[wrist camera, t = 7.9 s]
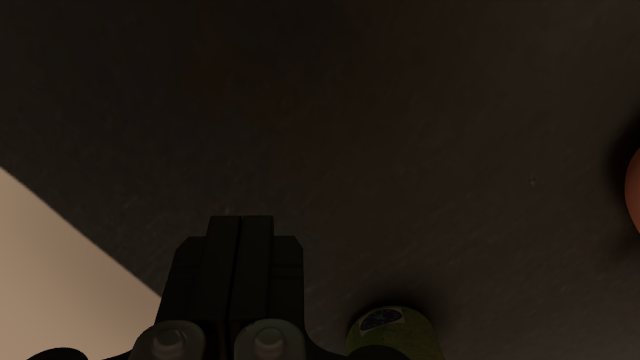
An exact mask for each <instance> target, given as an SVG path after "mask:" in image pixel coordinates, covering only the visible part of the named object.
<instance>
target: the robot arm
mask: <svg viewBox="0 0 640 360" xmlns="http://www.w3.org/2000/svg"><path fill="white" fill-rule="evenodd" d="M27 360H88V358H87V357H86V356H85V355H84V354H83V353H82V352H80V351H79V350H76V349H72V348H54V349H49V350H46V351H43V352H40V353H38V354H36V355H34V356H32V357H30V358H29V359H27ZM104 360H411V359H410V358H408V357H407V356H406V355H405V354H403V353H402V352H400V351H398V350H396V349H394V348H392V347H389V346H385V345H367V346H363V347H360V348H358V349H356V350H354V351H353V352H351V353H350V354H349V355H348V356H347V357H346V356H342V355H339V354H335V353H332V352H328V351H326V350H324V349H322V348H320V347H319V346H317V345H316V344H315V343H314V342H313V341H312V340H311V339H310V338H309V336H308V335H307V333H306V330H305V325H304V274H303V248H302V247H301V245H300V244H299V242H298V241H297V239H296V238H295V236H274V221H273V216H243V220H242V216H211V217H210V221H209V225H208V230H207V234H206V237H188V238H187V239H186V240H185V241H184V242H183V243H182V244H181V245H180V246H179V247H178V248H177V249H176V252H175V255H174V258H173V262H172V268H171V269H170V272H169V275H168V281H167V282H166V285H165V289H164V292H163V296H162V299H161V303H160V306H159V309H158V313H157V316H156V319H155V323H154V325H153V326H151V327H149V328H148V329H147V330H145V331H144V332H143V333H142V334H141V335H140V336H139V337H138V338H137V340H136V342H135V344H134V346H133V349H132V350H130V351H128V352H126V353H123V354H121V355H118V356H115V357H111V358H107V359H104Z"/></svg>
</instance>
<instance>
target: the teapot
mask: <svg viewBox="0 0 640 360" xmlns="http://www.w3.org/2000/svg"><path fill="white" fill-rule="evenodd" d="M625 199H626V205H627V208H628V211H629V213H630V216H631V218H632V220H633V222H634V224H635V226H636V228H637V230H638V232H639V233H640V148H639V149H638V150H637V151H636V153H635V154H634V156H633V157H632V159H631V161H630V163H629V166H628V169H627V173H626V178H625Z"/></svg>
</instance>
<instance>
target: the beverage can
mask: <svg viewBox="0 0 640 360" xmlns="http://www.w3.org/2000/svg"><path fill="white" fill-rule="evenodd" d="M367 345H385V346H389V347H392V348H394V349H396V350H398V351H400V352H402V353H403V354H405V355H406V356H407V357H408V358H410V359H411V360H445V358H444V356H443V353H442V350H441V348H440V345H439V342H438V340H437V337H436V334H435V331H434V329H433V327H432V325H431V323H430V322H429V321H428V319H427V318H426V317H425V316H423V315H422V314H421V313H419V312H418V311H416V310H414V309H411V308H409V307H404V306H395V305H391V306H383V307H379V308H376V309H374V310H371V311H369V312H367V313H366V314H364V315H363V316H361V317H360V318H359V319H358V320H357V321H356V322H355V323H354V324H353V326H352V327H351V329H350V331H349V333H348V336H347V339H346V354H347V356H348V355H349V354H350V353H351V352H353V351H354V350H356V349H358V348H360V347H363V346H367Z"/></svg>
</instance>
